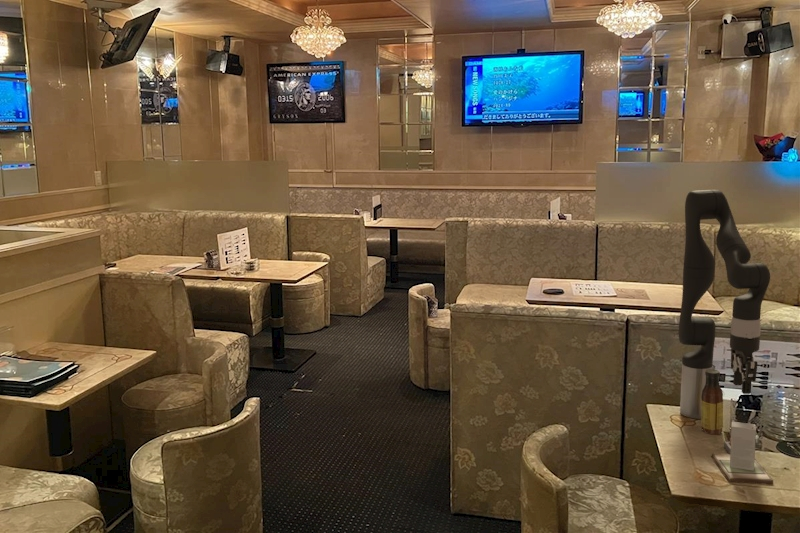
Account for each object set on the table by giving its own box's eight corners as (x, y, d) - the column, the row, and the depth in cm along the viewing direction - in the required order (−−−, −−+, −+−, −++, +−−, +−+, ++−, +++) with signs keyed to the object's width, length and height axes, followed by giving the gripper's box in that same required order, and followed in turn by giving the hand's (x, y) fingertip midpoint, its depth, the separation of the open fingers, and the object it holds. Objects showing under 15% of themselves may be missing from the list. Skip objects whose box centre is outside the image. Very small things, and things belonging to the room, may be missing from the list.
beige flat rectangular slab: (711, 456, 192) (711, 453, 192) (751, 458, 191) (752, 454, 191) (729, 482, 178) (729, 478, 178) (773, 483, 176) (773, 479, 176)
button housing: (723, 447, 198) (724, 441, 198) (745, 448, 197) (745, 442, 197) (730, 456, 192) (731, 450, 192) (752, 457, 191) (753, 451, 191)
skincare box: (753, 465, 184) (756, 424, 182) (754, 471, 181) (756, 430, 179) (729, 461, 187) (731, 420, 185) (729, 467, 183) (731, 426, 181)
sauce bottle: (718, 427, 212) (721, 367, 209) (725, 435, 206) (729, 374, 203) (696, 427, 213) (699, 367, 210) (703, 435, 207) (706, 374, 204)
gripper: (722, 326, 196) (719, 380, 199) (740, 340, 182) (736, 398, 185) (749, 326, 195) (746, 380, 198) (769, 340, 181) (765, 398, 184)
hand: (741, 388), depth 191 cm, fingers open, 6 cm apart
